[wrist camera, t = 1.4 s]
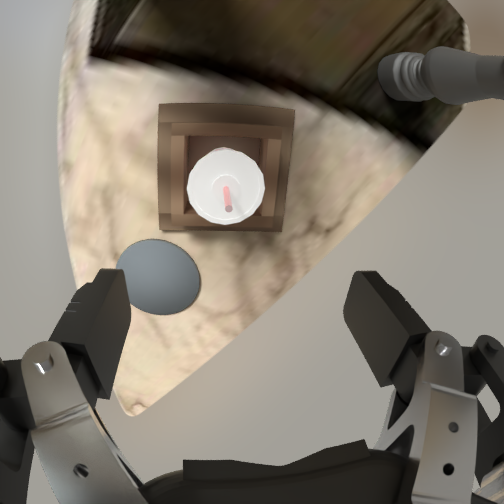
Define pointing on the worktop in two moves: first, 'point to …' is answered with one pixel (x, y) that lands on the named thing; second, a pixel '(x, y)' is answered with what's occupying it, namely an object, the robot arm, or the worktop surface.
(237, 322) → the worktop surface
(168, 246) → the slate coaster
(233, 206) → the beverage cup
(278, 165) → the stepped square tray
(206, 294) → the worktop surface
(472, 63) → the candle holder
